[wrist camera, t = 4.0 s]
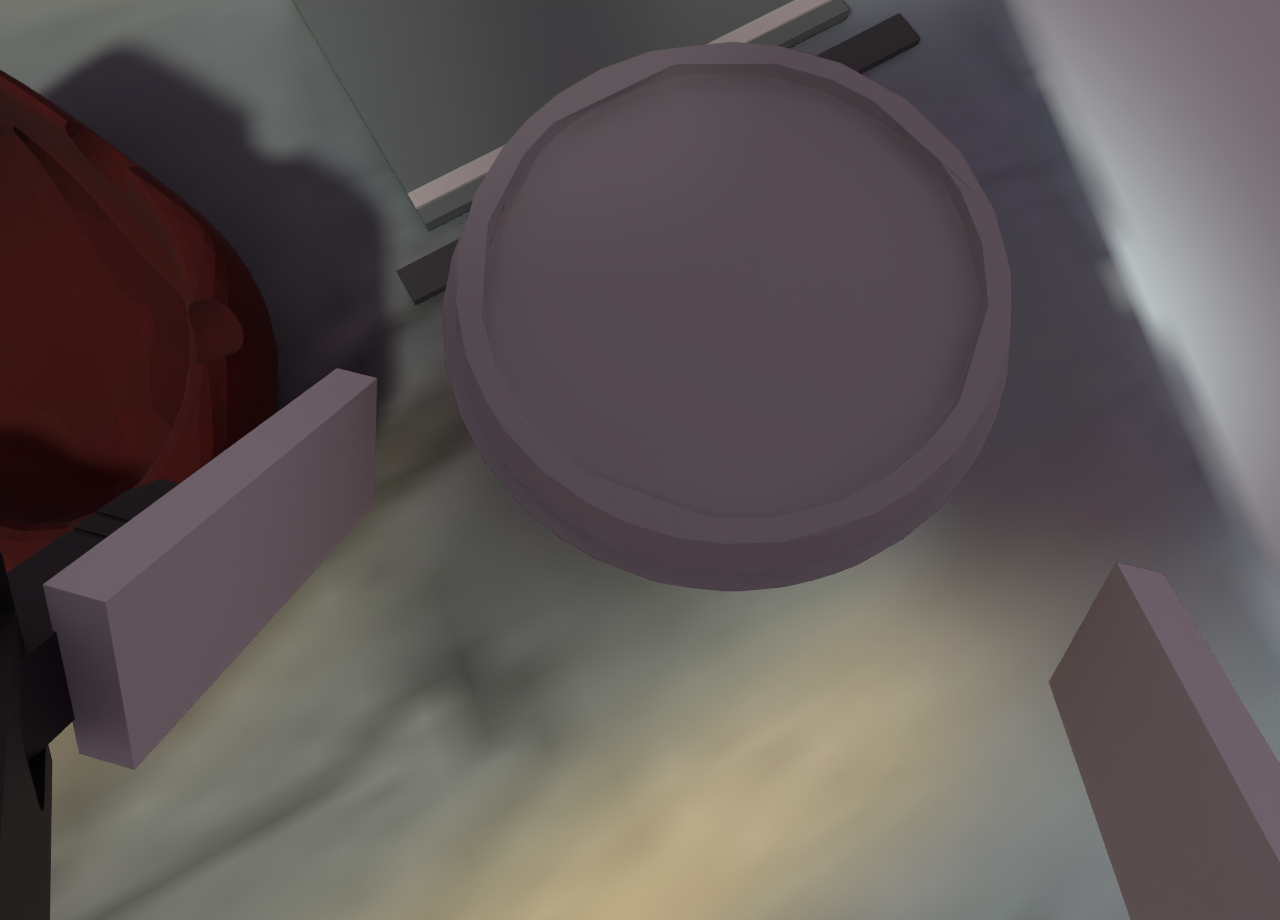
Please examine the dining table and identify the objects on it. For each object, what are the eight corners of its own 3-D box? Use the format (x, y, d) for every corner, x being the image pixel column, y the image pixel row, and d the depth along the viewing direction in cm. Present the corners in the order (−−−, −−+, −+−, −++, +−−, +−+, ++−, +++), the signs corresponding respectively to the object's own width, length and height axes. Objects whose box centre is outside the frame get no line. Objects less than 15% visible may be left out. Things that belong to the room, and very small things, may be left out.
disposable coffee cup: (844, 322, 26) (1006, 16, 14) (866, 640, 23) (1086, 580, 12) (533, 322, 26) (444, 17, 14) (520, 639, 23) (398, 578, 12)
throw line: (398, 274, 26) (396, 270, 26) (897, 18, 29) (899, 13, 29) (415, 305, 26) (413, 301, 26) (918, 43, 29) (920, 38, 28)
